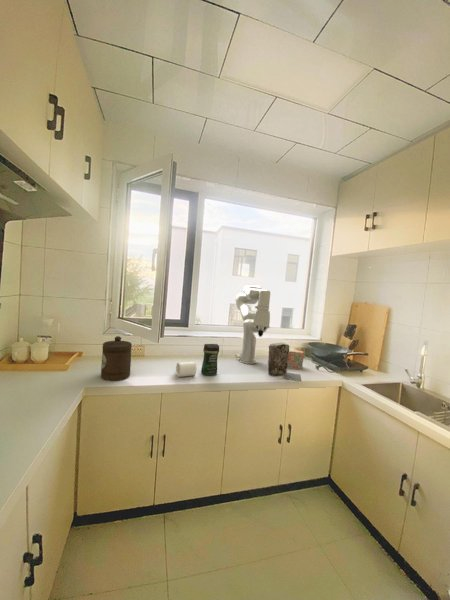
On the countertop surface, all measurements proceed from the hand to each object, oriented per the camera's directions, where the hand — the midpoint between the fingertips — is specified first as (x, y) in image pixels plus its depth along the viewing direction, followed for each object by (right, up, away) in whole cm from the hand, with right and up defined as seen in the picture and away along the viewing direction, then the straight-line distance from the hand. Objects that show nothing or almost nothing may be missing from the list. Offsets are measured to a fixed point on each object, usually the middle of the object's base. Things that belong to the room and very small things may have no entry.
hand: (260, 336), depth 169 cm
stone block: (+11, -25, -1) cm, 27 cm away
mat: (+20, -26, -3) cm, 33 cm away
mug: (-47, -21, -16) cm, 54 cm away
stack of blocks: (+21, -25, +18) cm, 38 cm away
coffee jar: (-33, -22, -11) cm, 41 cm away
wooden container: (-84, -18, -28) cm, 90 cm away
